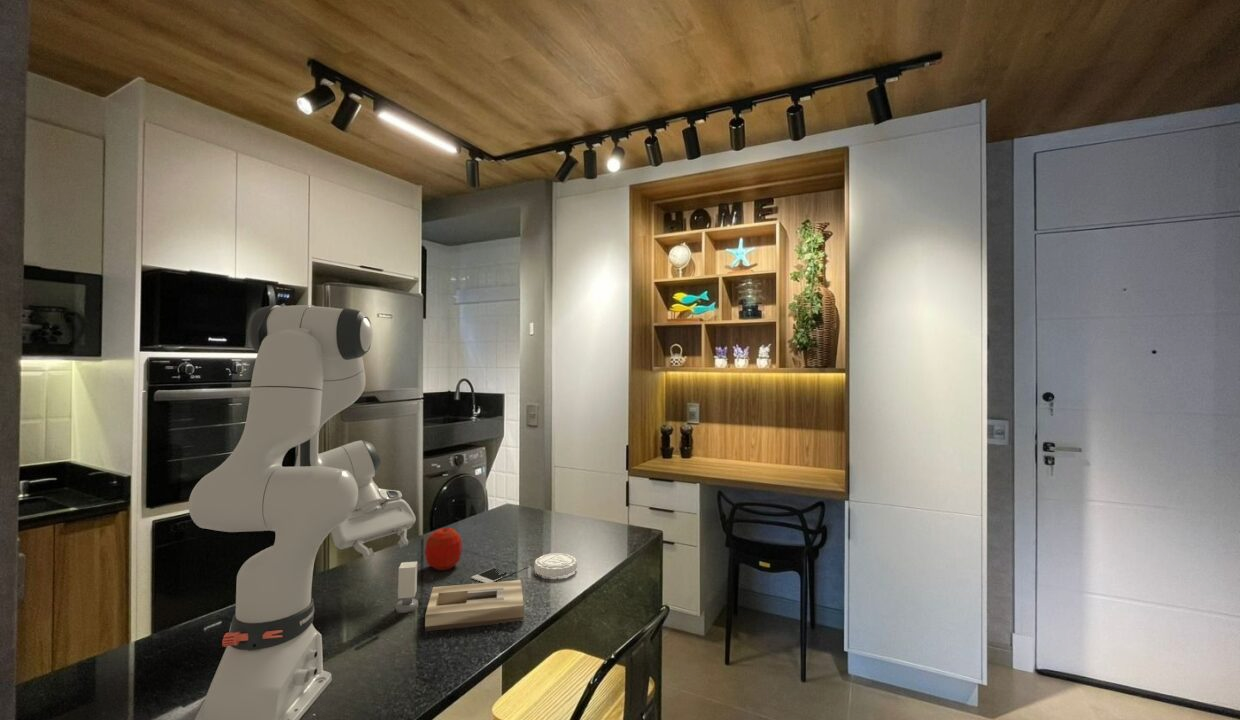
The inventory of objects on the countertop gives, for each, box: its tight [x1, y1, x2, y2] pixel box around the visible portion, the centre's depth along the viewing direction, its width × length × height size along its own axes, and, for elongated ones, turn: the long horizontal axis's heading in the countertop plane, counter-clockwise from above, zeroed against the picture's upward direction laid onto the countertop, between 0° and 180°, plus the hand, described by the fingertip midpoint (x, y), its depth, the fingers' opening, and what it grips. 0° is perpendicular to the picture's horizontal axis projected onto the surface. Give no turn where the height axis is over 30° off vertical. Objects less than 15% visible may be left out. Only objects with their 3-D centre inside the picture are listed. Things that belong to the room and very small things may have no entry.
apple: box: [424, 526, 463, 571], centre depth 144 cm, size 10×10×12 cm
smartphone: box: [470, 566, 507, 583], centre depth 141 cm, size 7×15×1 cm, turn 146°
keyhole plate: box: [424, 579, 525, 632], centre depth 118 cm, size 14×21×4 cm, turn 104°
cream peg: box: [395, 561, 419, 614], centre depth 119 cm, size 5×5×10 cm
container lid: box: [533, 552, 578, 577], centre depth 143 cm, size 12×12×4 cm
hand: (388, 551), depth 123 cm, fingers open, 8 cm apart
